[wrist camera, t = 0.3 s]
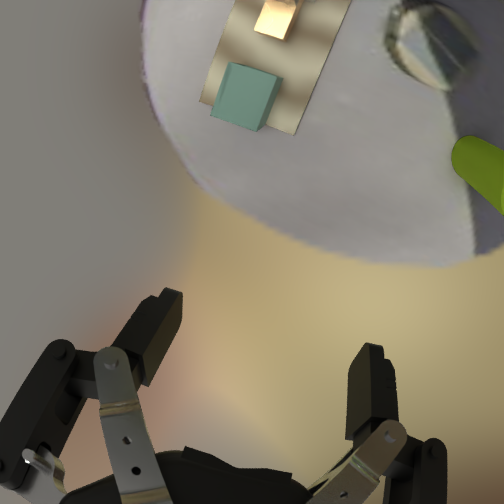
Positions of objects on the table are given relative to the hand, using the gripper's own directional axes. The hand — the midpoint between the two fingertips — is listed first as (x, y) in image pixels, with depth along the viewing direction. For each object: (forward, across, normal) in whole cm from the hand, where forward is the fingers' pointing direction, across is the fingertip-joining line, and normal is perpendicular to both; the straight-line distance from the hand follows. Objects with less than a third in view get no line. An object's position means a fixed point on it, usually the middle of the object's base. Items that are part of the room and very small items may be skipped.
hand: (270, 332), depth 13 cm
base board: (+28, +6, -16) cm, 33 cm away
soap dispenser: (+28, -20, -7) cm, 35 cm away
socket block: (+28, +8, -6) cm, 30 cm away
